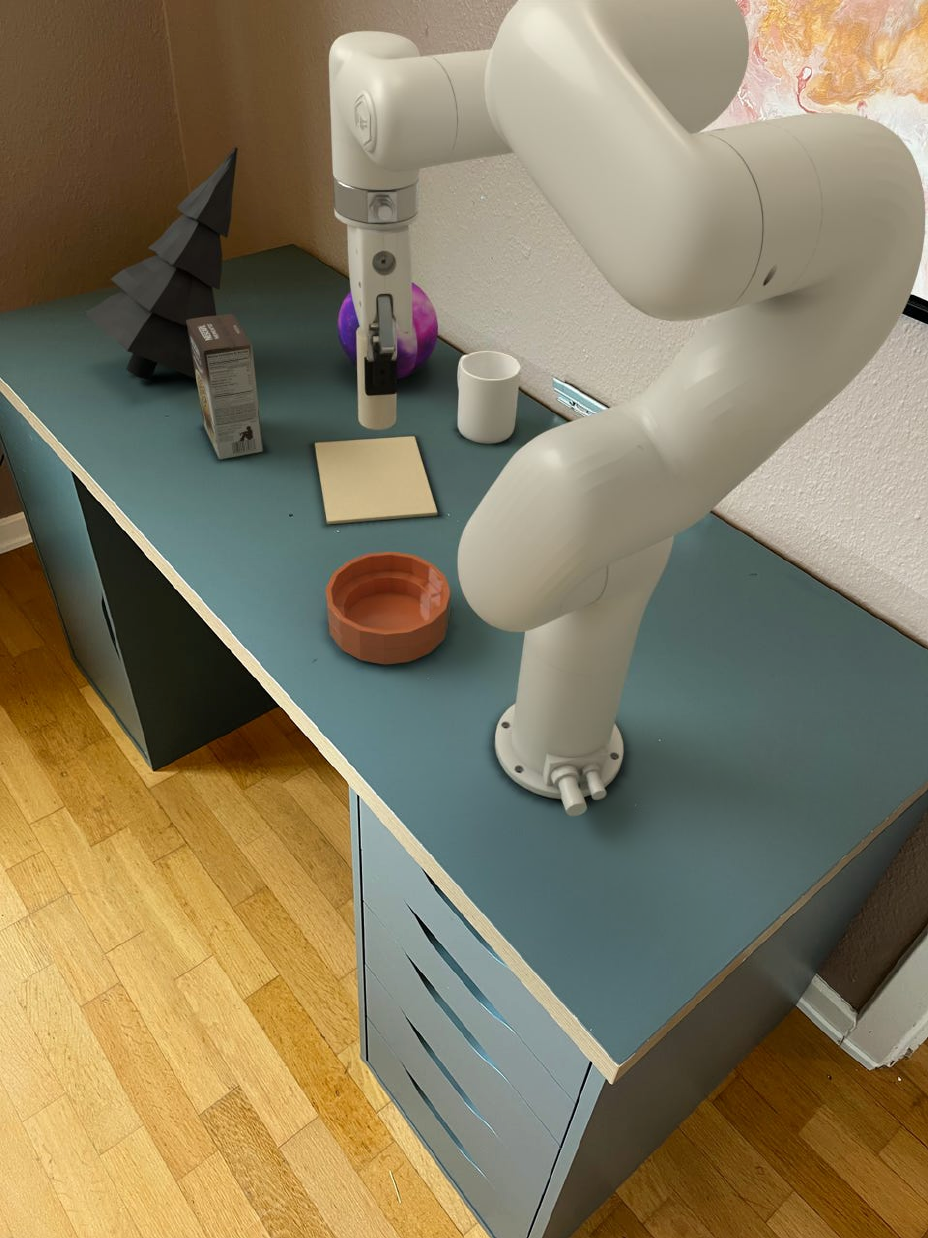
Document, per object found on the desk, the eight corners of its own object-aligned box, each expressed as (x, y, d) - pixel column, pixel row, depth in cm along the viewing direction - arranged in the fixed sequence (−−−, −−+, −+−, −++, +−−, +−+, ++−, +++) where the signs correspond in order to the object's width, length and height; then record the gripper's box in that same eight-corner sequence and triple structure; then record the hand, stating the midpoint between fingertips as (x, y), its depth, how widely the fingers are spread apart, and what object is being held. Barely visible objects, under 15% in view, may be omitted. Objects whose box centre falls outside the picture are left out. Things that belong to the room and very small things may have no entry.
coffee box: (202, 427, 130) (184, 318, 119) (247, 418, 132) (233, 311, 121) (218, 461, 124) (200, 349, 113) (265, 452, 126) (252, 342, 115)
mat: (437, 515, 117) (437, 512, 117) (327, 524, 115) (327, 521, 115) (414, 438, 130) (414, 435, 130) (314, 445, 128) (314, 442, 127)
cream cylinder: (399, 428, 97) (400, 340, 90) (361, 431, 96) (359, 342, 89) (393, 408, 99) (393, 321, 92) (356, 410, 99) (353, 323, 92)
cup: (476, 450, 129) (481, 385, 122) (433, 410, 136) (435, 346, 129) (525, 436, 132) (532, 371, 125) (480, 397, 139) (485, 334, 132)
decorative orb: (395, 341, 151) (395, 250, 141) (456, 378, 143) (460, 284, 133) (320, 368, 143) (314, 273, 133) (380, 408, 136) (379, 311, 125)
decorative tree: (202, 408, 139) (304, 187, 130) (115, 379, 128) (220, 133, 118) (157, 368, 147) (250, 157, 138) (71, 338, 135) (166, 104, 126)
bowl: (458, 659, 99) (460, 626, 96) (335, 673, 97) (332, 640, 93) (436, 580, 108) (437, 547, 105) (323, 591, 106) (321, 557, 102)
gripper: (435, 233, 77) (428, 423, 89) (402, 164, 88) (400, 340, 101) (345, 236, 75) (351, 428, 88) (323, 164, 87) (331, 344, 100)
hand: (377, 379), depth 94 cm, fingers closed on cream cylinder, 4 cm apart
